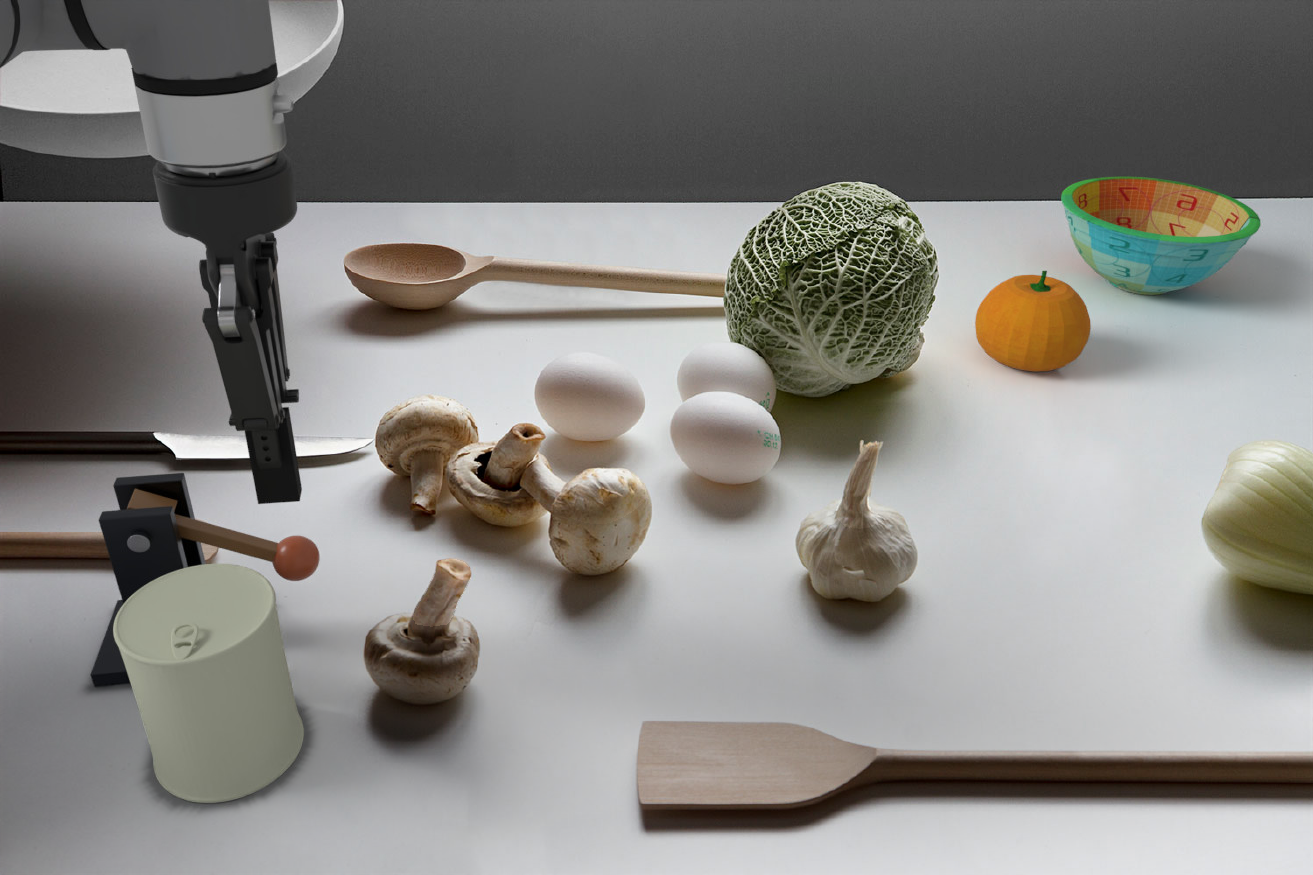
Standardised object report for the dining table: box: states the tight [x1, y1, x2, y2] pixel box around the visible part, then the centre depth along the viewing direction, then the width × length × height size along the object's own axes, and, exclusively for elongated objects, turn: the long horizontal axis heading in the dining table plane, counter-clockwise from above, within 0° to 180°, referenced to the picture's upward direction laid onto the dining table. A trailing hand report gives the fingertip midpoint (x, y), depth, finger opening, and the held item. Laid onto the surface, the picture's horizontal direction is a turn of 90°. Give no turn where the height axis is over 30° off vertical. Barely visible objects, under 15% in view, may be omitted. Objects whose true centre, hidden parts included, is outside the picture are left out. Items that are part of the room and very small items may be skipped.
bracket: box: [90, 472, 207, 688], centre depth 78 cm, size 10×8×13 cm
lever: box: [127, 489, 321, 582], centre depth 78 cm, size 13×3×3 cm, turn 100°
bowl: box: [1060, 176, 1261, 296], centre depth 137 cm, size 22×22×10 cm
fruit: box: [974, 270, 1092, 372], centre depth 120 cm, size 12×12×10 cm
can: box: [113, 563, 305, 804], centre depth 70 cm, size 9×9×12 cm
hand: (280, 496), depth 77 cm, fingers closed
